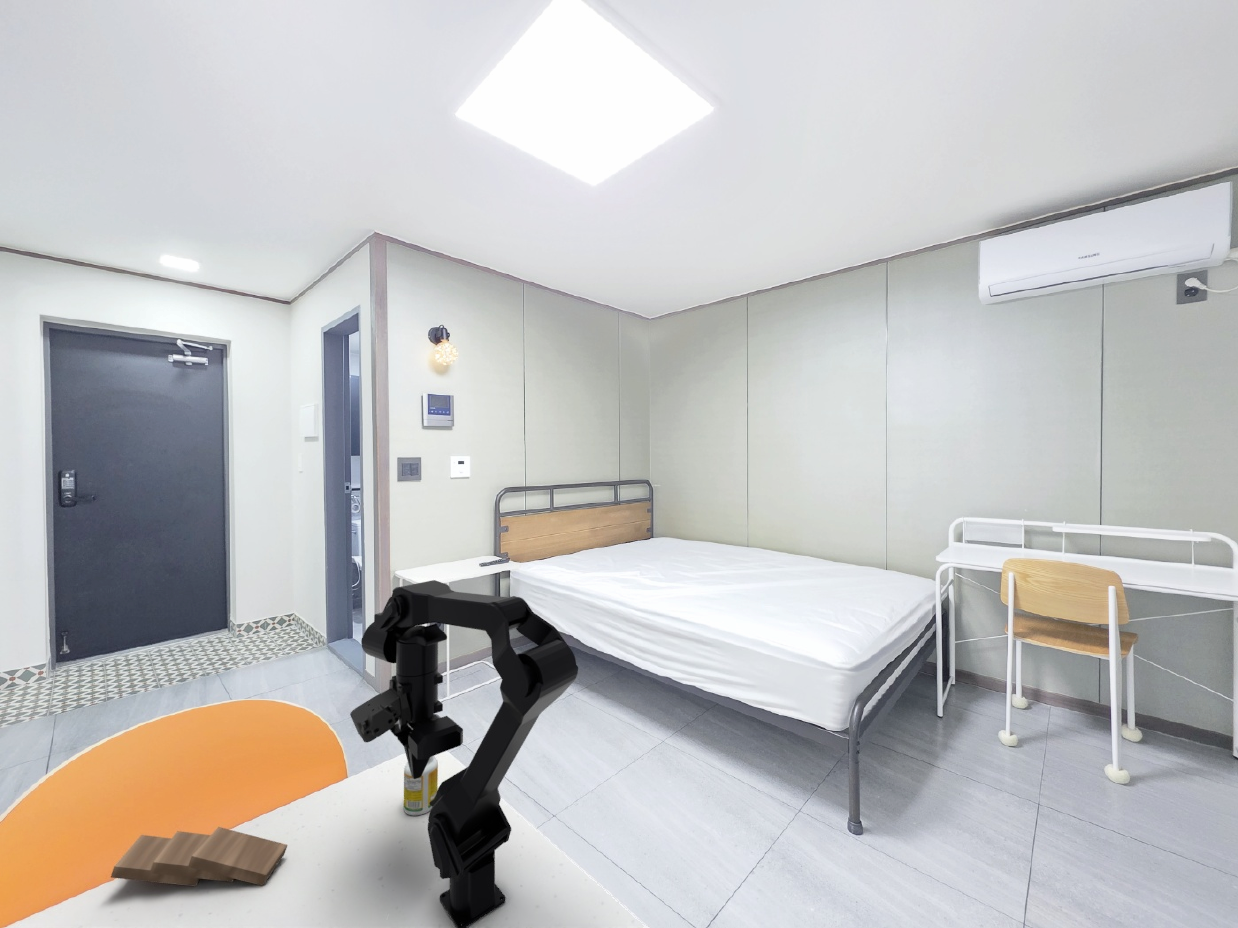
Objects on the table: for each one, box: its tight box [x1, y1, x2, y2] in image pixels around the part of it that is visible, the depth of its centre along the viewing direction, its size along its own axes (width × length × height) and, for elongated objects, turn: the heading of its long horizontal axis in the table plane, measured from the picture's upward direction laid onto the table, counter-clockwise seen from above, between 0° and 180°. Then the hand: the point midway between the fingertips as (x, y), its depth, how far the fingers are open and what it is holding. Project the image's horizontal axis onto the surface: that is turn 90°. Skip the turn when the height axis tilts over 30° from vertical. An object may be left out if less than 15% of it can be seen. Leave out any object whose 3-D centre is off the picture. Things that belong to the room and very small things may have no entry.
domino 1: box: [110, 834, 201, 887], centre depth 69 cm, size 2×5×10 cm
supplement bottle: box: [403, 755, 439, 817], centre depth 84 cm, size 5×5×10 cm
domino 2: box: [150, 830, 235, 883], centre depth 70 cm, size 2×5×10 cm
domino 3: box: [188, 826, 288, 887], centre depth 70 cm, size 2×5×10 cm
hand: (416, 776), depth 72 cm, fingers closed
